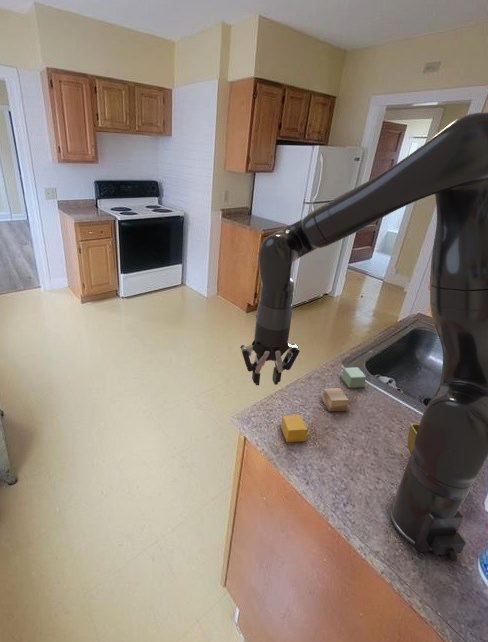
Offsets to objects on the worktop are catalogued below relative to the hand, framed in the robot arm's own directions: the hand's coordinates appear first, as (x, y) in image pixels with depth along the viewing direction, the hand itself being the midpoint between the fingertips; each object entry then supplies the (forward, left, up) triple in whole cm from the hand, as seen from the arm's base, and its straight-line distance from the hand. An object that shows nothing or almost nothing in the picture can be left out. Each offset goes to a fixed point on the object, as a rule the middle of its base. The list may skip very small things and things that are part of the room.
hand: (265, 382), depth 78 cm
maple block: (+9, -25, -17) cm, 32 cm away
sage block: (+19, -36, -17) cm, 44 cm away
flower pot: (-12, -38, -17) cm, 43 cm away
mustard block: (0, -9, -17) cm, 19 cm away
